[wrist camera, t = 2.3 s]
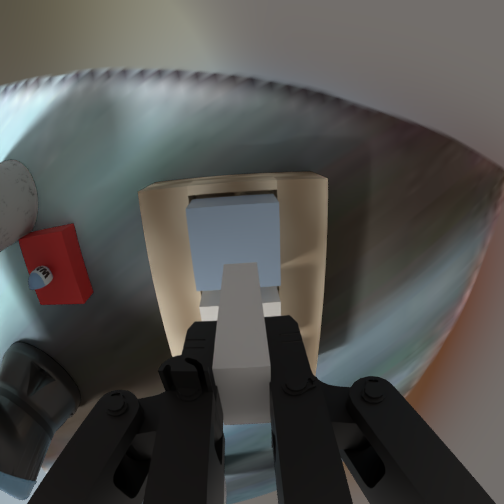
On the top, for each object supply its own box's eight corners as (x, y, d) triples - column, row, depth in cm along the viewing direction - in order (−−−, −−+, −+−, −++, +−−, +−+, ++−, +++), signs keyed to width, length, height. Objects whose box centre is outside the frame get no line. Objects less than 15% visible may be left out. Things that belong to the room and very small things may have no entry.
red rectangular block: (32, 231, 25) (-1, 251, 19) (74, 222, 25) (41, 243, 20) (51, 293, 28) (25, 321, 22) (94, 290, 28) (69, 322, 23)
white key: (212, 342, 25) (209, 365, 22) (203, 287, 23) (199, 306, 20) (276, 338, 25) (280, 360, 22) (275, 282, 23) (280, 301, 20)
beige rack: (190, 367, 32) (185, 398, 28) (155, 182, 24) (137, 191, 20) (304, 360, 33) (313, 389, 28) (311, 171, 25) (327, 178, 20)
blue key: (201, 272, 22) (196, 291, 20) (192, 199, 20) (185, 208, 17) (275, 267, 22) (280, 285, 20) (273, 193, 20) (278, 202, 18)
